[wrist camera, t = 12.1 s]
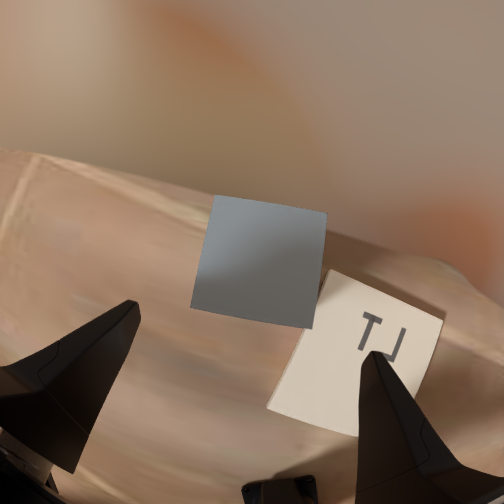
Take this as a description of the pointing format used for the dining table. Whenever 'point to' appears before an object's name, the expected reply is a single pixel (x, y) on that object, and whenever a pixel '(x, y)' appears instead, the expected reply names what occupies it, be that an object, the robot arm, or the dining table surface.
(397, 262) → the dining table surface
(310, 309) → the slate-blue block
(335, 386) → the tile
